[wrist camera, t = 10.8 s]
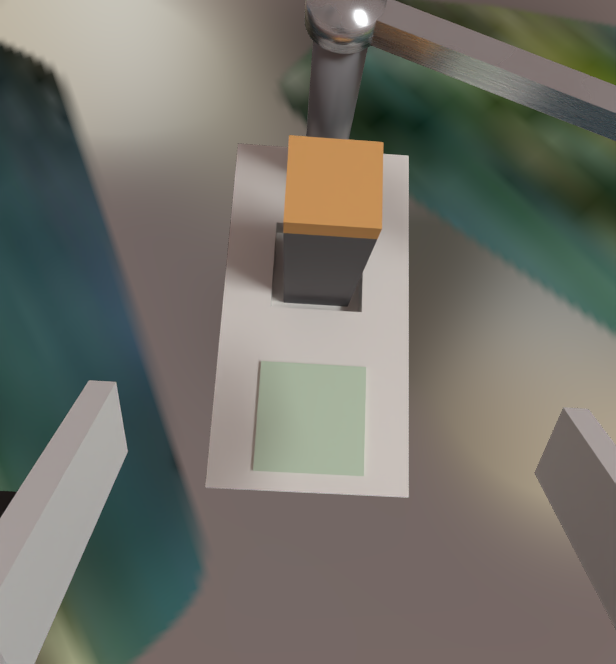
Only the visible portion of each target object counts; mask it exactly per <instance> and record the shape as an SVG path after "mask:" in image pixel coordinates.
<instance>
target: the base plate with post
mask: <svg viewBox="0 0 616 664" xmlns="http://www.w3.org/2000/svg"><path fill="white" fill-rule="evenodd" d="M367 49H368V48H366V49H364V50H362V51H359V52H356V53H350V54H341V53H335V52H331V51H328V50H326V49H324V48H322V47H320V46H319V45H318V44H316V43H315V42H314V41H313V49H312V63H311V77H310V92H309V106H308V120H307V134H306V137H320V138H333V139H347V140H349V135H350V130H351V126H352V121H353V116H354V111H355V106H356V101H357V97H358V92H359V87H360V82H361V77H362V73H363V68H364V63H365V58H366V53H367ZM287 161H288V147H280V146H266V145H253V144H239V143H238V150H237V160H236V170H235V180H234V190H233V201H232V212H231V222H230V232H229V243H228V254H227V264H226V274H225V286H224V295H223V306H222V316H221V327H220V337H219V348H218V358H217V368H216V380H215V389H214V400H213V410H212V420H211V431H210V441H209V452H208V462H207V474H206V484H205V488H222V489H245V490H263V491H285V492H305V493H326V494H348V495H367V496H368V495H369V496H388V497H389V496H390V497H409V156H404V155H391V154H383V201H382V230H381V232H380V235H379V237H378V239H377V241H376V244H375V246H374V248H373V250H372V253H371V255H370V257H369V259H368V262H367V264H366V266H365V269H364V271H363V273H362V275H361V278H360V280H359V282H358V284H357V287H356V289H355V291H354V293H353V296H352V298H351V300H350V302H349V305H348V307H345V306H329V305H313V304H296V303H284V267H283V220H284V205H285V190H286V176H287Z"/></svg>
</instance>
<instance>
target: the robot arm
mask: <svg viewBox="0 0 616 664" xmlns="http://www.w3.org/2000/svg"><path fill="white" fill-rule="evenodd" d="M127 452H128V450H127V444H126V438H125V432H124V426H123V420H122V414H121V409H120V403H119V397H118V391H117V385H116V382H108V381H90V380H89V381H88V383H87V384H86V386H85V387H84V389H83V391H82V392H81V394H80V395H79V397H78V398H77V400H76V401H75V403H74V405H73V406H72V408H71V409H70V411H69V412H68V414H67V415H66V417H65V419H64V420H63V422H62V423H61V425H60V426H59V428H58V429H57V431H56V432H55V434H54V436H53V437H52V439H51V440H50V442H49V443H48V445H47V446H46V448H45V450H44V451H43V453H42V454H41V456H40V457H39V459H38V460H37V462H36V464H35V465H34V467H33V468H32V470H31V471H30V473H29V474H28V476H27V477H26V479H25V481H24V482H23V484H22V485H21V487H20V488H19V490H18V491H17V492H9V491H0V664H34V663H35V661H36V659H37V657H38V654H39V652H40V650H41V648H42V645H43V643H44V641H45V638H46V636H47V634H48V632H49V629H50V627H51V625H52V623H53V620H54V618H55V616H56V613H57V611H58V609H59V607H60V604H61V602H62V600H63V598H64V595H65V593H66V591H67V588H68V586H69V584H70V582H71V579H72V577H73V575H74V573H75V570H76V568H77V566H78V563H79V561H80V559H81V557H82V554H83V552H84V550H85V548H86V545H87V543H88V541H89V538H90V536H91V534H92V532H93V529H94V527H95V525H96V523H97V520H98V518H99V516H100V513H101V511H102V509H103V507H104V504H105V502H106V500H107V498H108V495H109V493H110V491H111V488H112V486H113V484H114V482H115V479H116V477H117V475H118V473H119V470H120V468H121V466H122V463H123V461H124V459H125V457H126V454H127ZM535 475H536V477H537V479H538V481H539V483H540V484H541V487H542V488H543V490H544V492H545V494H546V496H547V498H548V500H549V502H550V504H551V506H552V508H553V510H554V512H555V514H556V515H557V517H558V519H559V521H560V523H561V525H562V527H563V529H564V531H565V533H566V535H567V537H568V539H569V540H570V542H571V544H572V546H573V548H574V550H575V552H576V554H577V556H578V558H579V560H580V562H581V564H582V565H583V568H584V569H585V572H586V574H587V575H588V577H589V579H590V581H591V583H592V585H593V587H594V589H595V591H596V593H597V595H598V597H599V599H600V601H601V602H602V604H603V606H604V608H605V610H606V612H607V614H608V616H609V618H610V620H611V622H612V624H613V626H614V628H615V629H616V445H615V443H614V442H613V441H612V440H611V438H610V437H609V435H608V434H607V433H606V431H605V430H604V429H603V427H602V426H601V425H600V423H599V422H598V421H597V419H596V418H595V417H594V416H593V414H592V413H591V411H590V410H589V409H581V408H563V409H562V412H561V414H560V416H559V418H558V421H557V423H556V425H555V427H554V430H553V432H552V434H551V437H550V439H549V441H548V443H547V446H546V448H545V450H544V452H543V455H542V457H541V459H540V462H539V464H538V466H537V468H536V471H535Z"/></svg>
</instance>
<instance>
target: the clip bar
mask: <svg viewBox="0 0 616 664" xmlns="http://www.w3.org/2000/svg"><path fill="white" fill-rule="evenodd" d="M304 21H305V27H306V30H307V32H308V34H309V36H310V37H311V39H312V40H313V41H314V42H315V43H316V44H318V45H319V46H320V47H322V48H324V49H326V50H328V51H331V52H335V53H341V54H350V53H356V52H359V51H362V50H364V49H366V48H368V47H369V46H374V47H376V48H379V49H382V50H384V51H387V52H389V53H392V54H394V55H397V56H399V57H402V58H405V59H407V60H410V61H412V62H415V63H417V64H420V65H422V66H425V67H428V68H430V69H433V70H435V71H438V72H440V73H443V74H446V75H448V76H451V77H453V78H456V79H458V80H461V81H463V82H466V83H469V84H471V85H474V86H476V87H479V88H481V89H484V90H486V91H489V92H492V93H494V94H497V95H499V96H502V97H504V98H507V99H509V100H512V101H515V102H517V103H520V104H522V105H525V106H527V107H530V108H533V109H535V110H538V111H540V112H543V113H545V114H548V115H550V116H553V117H556V118H558V119H561V120H563V121H566V122H568V123H571V124H573V125H576V126H579V127H581V128H584V129H586V130H589V131H591V132H594V133H596V134H599V135H602V136H604V137H607V138H609V139H612V140H614V141H616V86H615V85H613V84H610V83H608V82H605V81H602V80H600V79H597V78H595V77H592V76H589V75H587V74H584V73H582V72H579V71H576V70H574V69H571V68H569V67H566V66H564V65H561V64H558V63H556V62H553V61H551V60H548V59H545V58H543V57H540V56H538V55H535V54H532V53H530V52H527V51H525V50H522V49H519V48H517V47H514V46H512V45H509V44H506V43H504V42H501V41H499V40H496V39H493V38H491V37H488V36H486V35H483V34H480V33H478V32H475V31H473V30H470V29H467V28H465V27H462V26H460V25H457V24H454V23H452V22H449V21H447V20H444V19H441V18H439V17H436V16H434V15H431V14H428V13H426V12H423V11H421V10H418V9H415V8H413V7H410V6H408V5H405V4H402V3H400V2H397V1H395V0H305V18H304Z"/></svg>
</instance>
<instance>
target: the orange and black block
mask: <svg viewBox="0 0 616 664" xmlns="http://www.w3.org/2000/svg"><path fill="white" fill-rule="evenodd" d="M382 201H383V142H374V141H360V140H347V139H333V138H320V137H305V136H293V135H289V146H288V161H287V176H286V190H285V205H284V220H283V267H284V303H296V304H313V305H329V306H345V307H348V305H349V302H350V300H351V298H352V296H353V293H354V291H355V289H356V287H357V284H358V282H359V280H360V278H361V275H362V273H363V271H364V269H365V266H366V264H367V262H368V259H369V257H370V255H371V253H372V250H373V248H374V246H375V244H376V241H377V239H378V237H379V235H380V232H381V230H382Z"/></svg>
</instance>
